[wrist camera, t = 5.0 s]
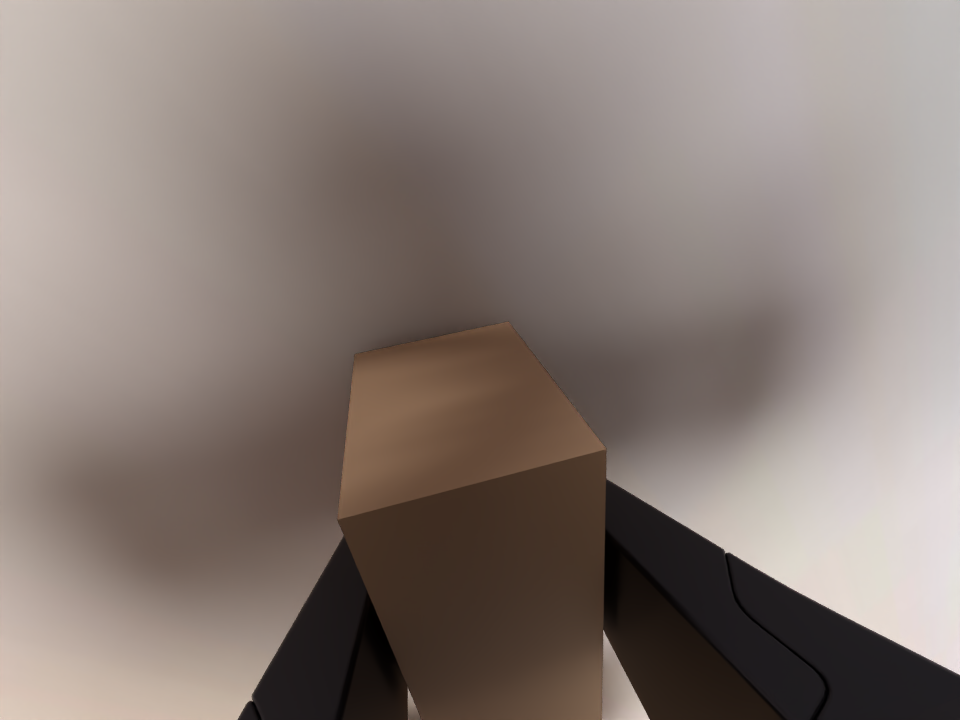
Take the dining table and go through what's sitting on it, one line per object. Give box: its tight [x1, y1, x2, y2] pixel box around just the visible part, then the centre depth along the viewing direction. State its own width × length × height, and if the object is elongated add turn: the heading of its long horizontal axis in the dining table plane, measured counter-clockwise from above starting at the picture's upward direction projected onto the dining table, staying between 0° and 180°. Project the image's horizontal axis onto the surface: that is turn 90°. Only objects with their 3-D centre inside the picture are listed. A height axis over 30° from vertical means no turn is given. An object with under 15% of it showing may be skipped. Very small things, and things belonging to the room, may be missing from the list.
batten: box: [337, 322, 606, 720], centre depth 11 cm, size 3×18×4 cm, turn 8°
